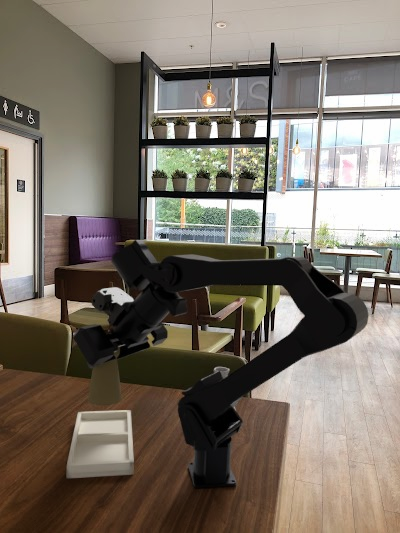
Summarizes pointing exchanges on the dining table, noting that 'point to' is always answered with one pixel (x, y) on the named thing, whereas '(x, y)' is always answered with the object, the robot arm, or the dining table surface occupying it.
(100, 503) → the dining table surface
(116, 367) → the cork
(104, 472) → the tray
